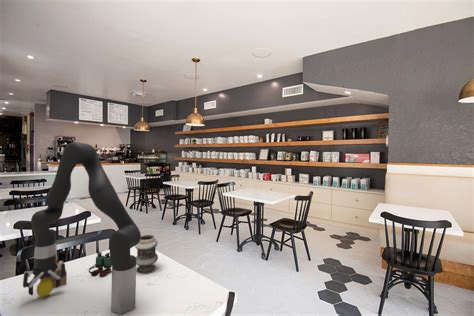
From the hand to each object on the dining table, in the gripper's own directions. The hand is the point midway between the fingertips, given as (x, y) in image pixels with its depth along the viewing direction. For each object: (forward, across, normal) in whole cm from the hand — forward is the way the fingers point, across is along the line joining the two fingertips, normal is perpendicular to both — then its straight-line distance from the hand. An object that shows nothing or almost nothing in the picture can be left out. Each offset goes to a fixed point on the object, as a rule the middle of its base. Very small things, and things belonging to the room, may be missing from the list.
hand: (44, 290), depth 102 cm
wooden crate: (+3, +4, +10) cm, 11 cm away
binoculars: (+3, +23, +5) cm, 24 cm away
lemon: (+3, 0, 0) cm, 3 cm away
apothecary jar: (+3, +43, -5) cm, 43 cm away
